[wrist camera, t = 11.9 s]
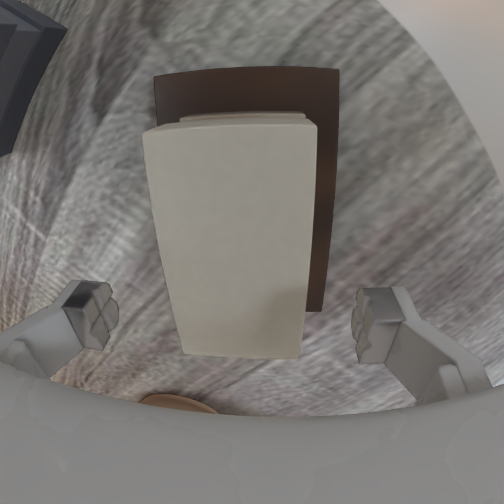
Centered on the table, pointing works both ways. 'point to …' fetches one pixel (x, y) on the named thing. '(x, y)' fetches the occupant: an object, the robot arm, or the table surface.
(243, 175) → the white book
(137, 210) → the table surface
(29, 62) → the grey books
